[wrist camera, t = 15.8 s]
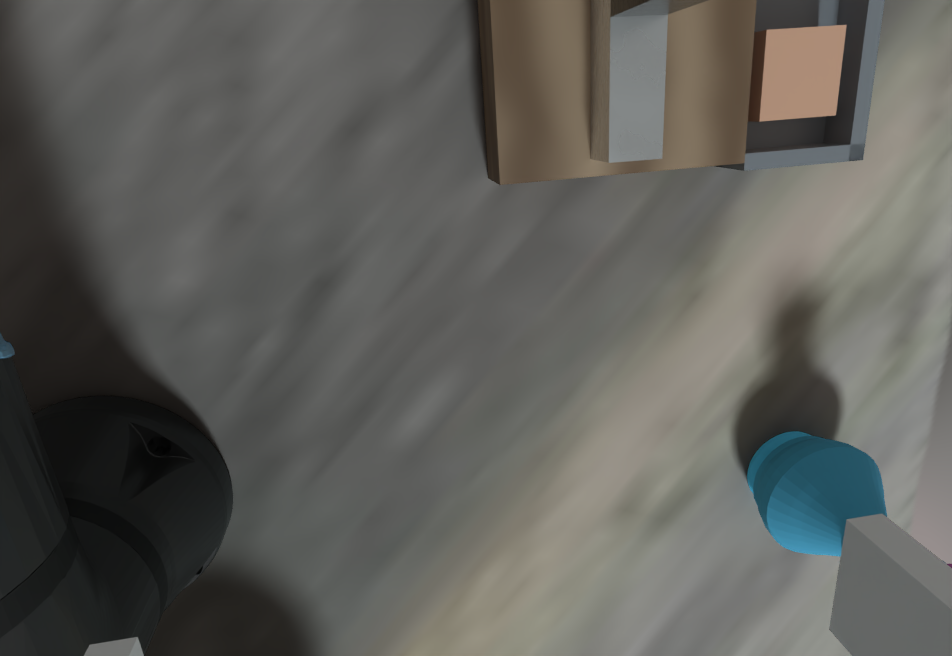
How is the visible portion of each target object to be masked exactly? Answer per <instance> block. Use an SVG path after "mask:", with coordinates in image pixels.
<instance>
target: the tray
mask: <svg viewBox="0 0 952 656" xmlns="http://www.w3.org/2000/svg"><path fill="white" fill-rule="evenodd" d="M884 1H885V0H757V3H756V16H755V29H754V32H759V31H763V30H771V29H787V28H803V27H819V26H835V25H847V26H846V34H845V43H844V51H843V60H842V68H841V77H840V85H839V94H838V102H837V111H836V115H834V116H822V117H810V118H798V119H785V120H773V121H761V122H752V121H748V124H747V137H746V150H745V163H741V164H730V165H719V166H716V167H723V168H730V169H737V170H743V171H745V170H756V169H767V168H778V167H790V166H801V165H812V164H823V163H834V162H845V161H856V160H863V155H864V148H865V141H866V133H867V126H868V119H869V111H870V104H871V97H872V89H873V82H874V75H875V67H876V60H877V53H878V45H879V38H880V31H881V23H882V16H883V9H884Z"/></svg>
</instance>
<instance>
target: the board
mask: <svg viewBox="0 0 952 656" xmlns="http://www.w3.org/2000/svg"><path fill="white" fill-rule="evenodd" d="M477 1H478V17H479V33H480V50H481V66H482V83H483V99H484V116H485V132H486V149H487V165H488V178H489V179H491V180H492V181H494V182H496V183H498V184H500V185H504V184H515V183H526V182H538V181H549V180H560V179H572V178H583V177H594V176H605V175H617V174H628V173H639V172H651V171H662V170H673V169H685V168H696V167H707V166H719V165H730V164H741V163H745V150H746V137H747V124H748V110H749V97H750V83H751V70H752V56H753V43H754V29H755V16H756V3H757V0H708V1H705V2H703V3H700V4H697V5H694V6H691V7H688V8H685V9H682V10H680V11H677V12H674V13H671V14H668V25H667V51H666V77H665V102H664V128H663V153H662V159H652V160H639V161H626V162H613V163H607V162H602V161H597V160H592V159H591V0H477Z"/></svg>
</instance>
